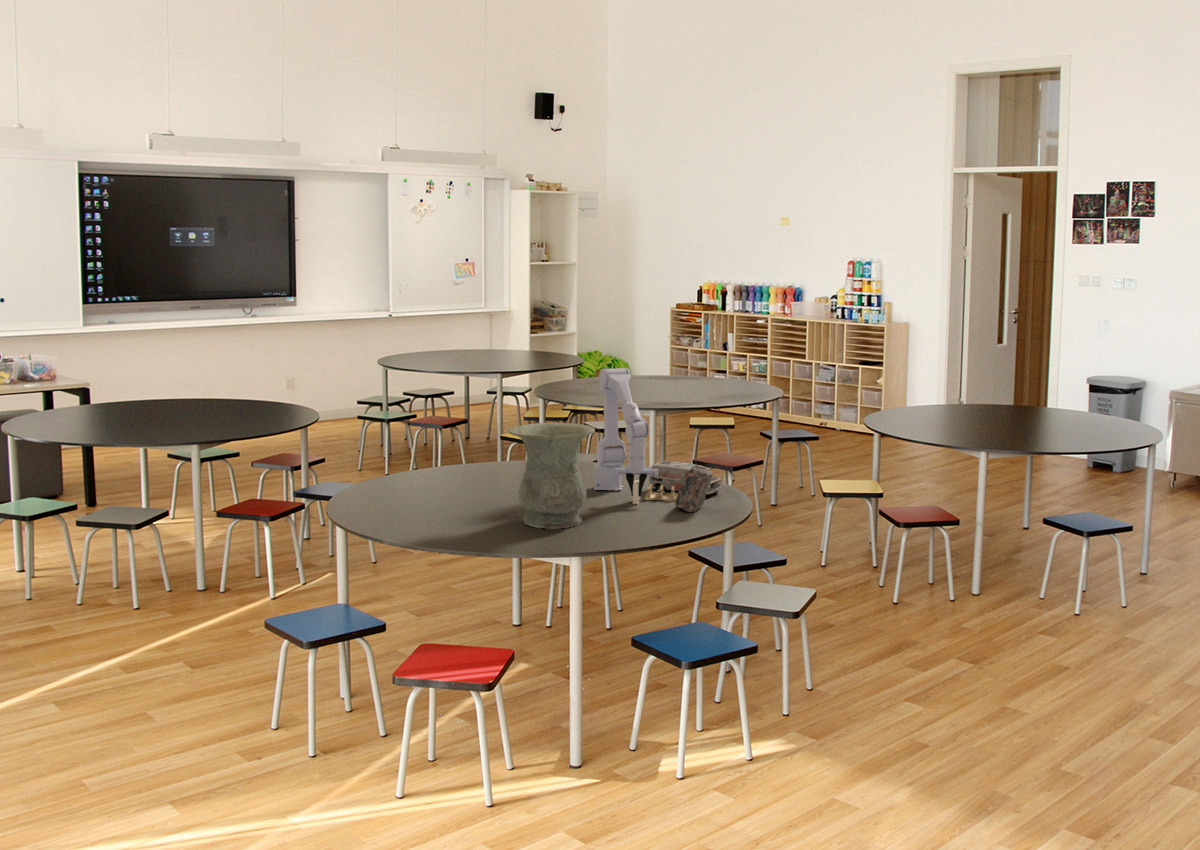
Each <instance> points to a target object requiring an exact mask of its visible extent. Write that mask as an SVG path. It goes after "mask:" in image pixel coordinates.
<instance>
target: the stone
mask: <svg viewBox="0 0 1200 850" xmlns="http://www.w3.org/2000/svg"><path fill="white" fill-rule="evenodd" d="M699 465H700V464H699ZM699 465H698V464H695V465H694V466H692V468H691V470H690V472H689V474H688V476H687V478H686V479H685V481H684V483H683V485H682V487H681V489H680V490H679V491H677V493H678V495H677V499H676V502H675V501H674V503H675V504H674V505H675V507H677V508H679V509H682V510H684V511H685V512H689V513H695V512H697V510H700V509H701V508H702V506H704V503H705V500H706V497H705V495H706V496H707V494H706V493H707V489H708V487H709V484H710V482H711V479H712V476H714V472H713V471H711V470H709V469H707V468H706V467H704V466H703V467H701V466H702V465H700V466H699ZM699 508H700V509H699Z"/></svg>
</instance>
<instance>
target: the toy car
mask: <svg viewBox="0 0 1200 850" xmlns="http://www.w3.org/2000/svg"><path fill="white" fill-rule="evenodd" d="M694 465H696V464H695V463H688V462H680V461H671V460H664V461H659V462H656V463H654V464H652V465H651V468H650V469H658V476H655V475H648V481H649V484H648V485H647V486H649V485H650V484H652V488H655V491H656V490H660V487H661V484H663V485H664V490H663V491H667V490H669V491H670V490H671V489H672V486H673V485H675V492H679V490H680V489H681V487H682V485H683V483H684V481H685V479H686V478H687V476H688V474H689V472H690V470H691V468H692V466H694ZM699 466H701V467H704V466H703V465H701V464H699ZM721 484H722V479H721V478H720V477H719V476H715V475H713V476H712V479H711V482H710V484H709V487H708V489H707V493H706V495H705V498H706V497H707V495H711V494H714V495H715V494H716V495H717V494H719V491H720V490H721V488H722V486H721Z"/></svg>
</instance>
